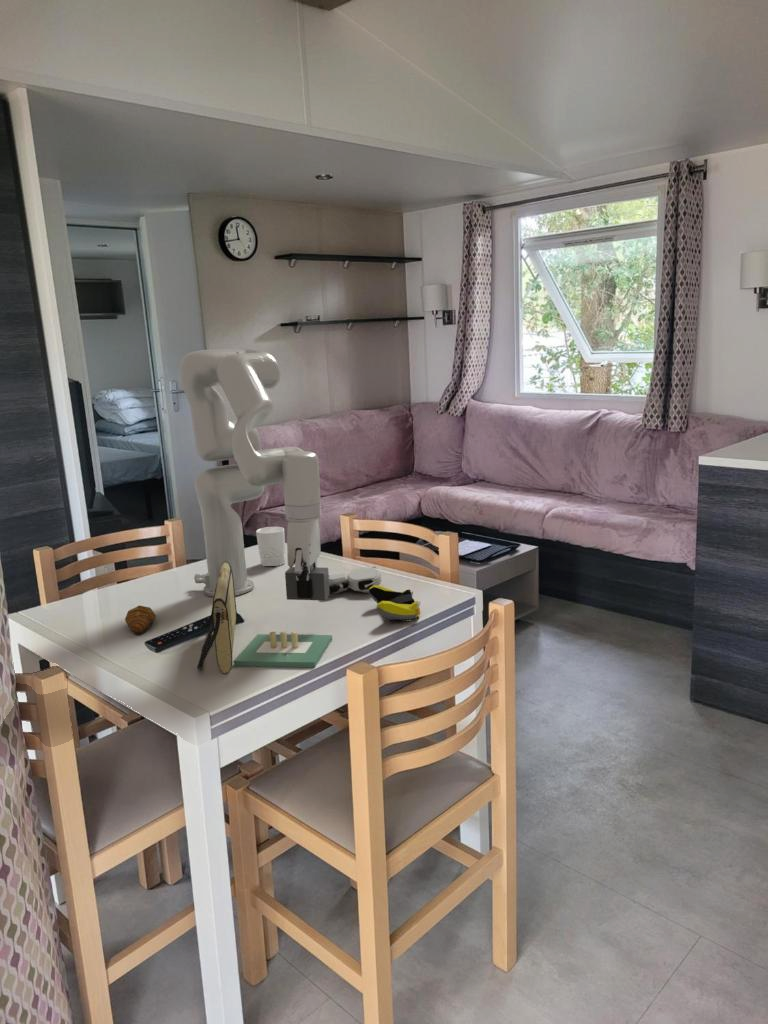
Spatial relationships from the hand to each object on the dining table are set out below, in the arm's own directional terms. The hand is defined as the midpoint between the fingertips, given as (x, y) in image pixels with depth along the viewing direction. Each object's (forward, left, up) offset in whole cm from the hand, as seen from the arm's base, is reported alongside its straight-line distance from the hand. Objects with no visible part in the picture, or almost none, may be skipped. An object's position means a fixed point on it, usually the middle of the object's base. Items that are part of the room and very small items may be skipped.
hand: (308, 593), depth 165 cm
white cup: (-24, +49, -8) cm, 56 cm away
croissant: (-39, 0, -8) cm, 40 cm away
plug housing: (0, 0, -1) cm, 1 cm away
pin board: (-1, -15, -7) cm, 16 cm away
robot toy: (+4, +25, -8) cm, 27 cm away
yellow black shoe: (+17, +8, -8) cm, 21 cm away
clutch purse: (-16, -14, -8) cm, 22 cm away
